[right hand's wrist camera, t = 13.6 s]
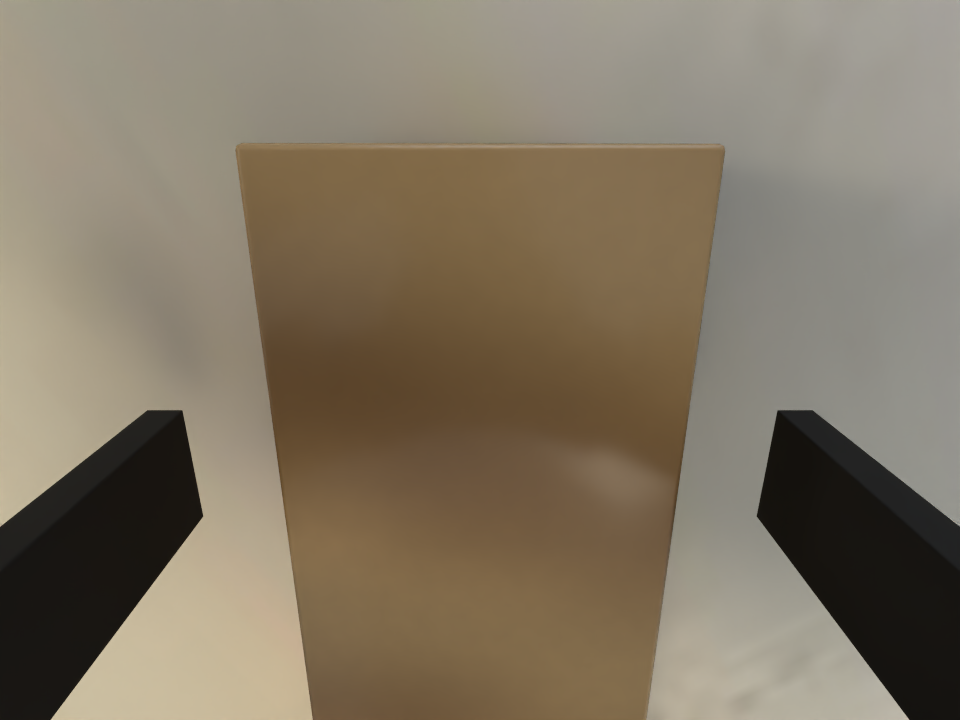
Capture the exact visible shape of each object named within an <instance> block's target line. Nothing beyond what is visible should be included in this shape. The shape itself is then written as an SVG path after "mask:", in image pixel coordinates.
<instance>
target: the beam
mask: <svg viewBox="0 0 960 720" xmlns="http://www.w3.org/2000/svg"><path fill="white" fill-rule="evenodd" d="M724 155H725V149H724V146H723V145H720V144H505V143H241V144H239V145H237V146H236V158H237V165H238V172H239V180H240V187H241V194H242V202H243V209H244V216H245V224H246V231H247V238H248V246H249V253H250V260H251V268H252V275H253V283H254V290H255V297H256V305H257V312H258V319H259V327H260V334H261V341H262V349H263V356H264V363H265V371H266V378H267V385H268V393H269V400H270V408H271V415H272V422H273V430H274V437H275V444H276V452H277V459H278V466H279V474H280V481H281V488H282V496H283V503H284V510H285V518H286V525H287V532H288V540H289V547H290V555H291V562H292V569H293V577H294V584H295V591H296V599H297V606H298V613H299V621H300V628H301V635H302V643H303V650H304V657H305V665H306V672H307V680H308V687H309V694H310V702H311V709H312V716H313V720H646V717H647V710H648V703H649V695H650V688H651V681H652V674H653V667H654V659H655V652H656V645H657V638H658V631H659V623H660V616H661V609H662V602H663V595H664V587H665V580H666V573H667V566H668V559H669V551H670V544H671V537H672V530H673V522H674V515H675V508H676V501H677V494H678V486H679V479H680V472H681V465H682V458H683V450H684V443H685V436H686V429H687V422H688V414H689V407H690V400H691V393H692V386H693V378H694V371H695V364H696V357H697V349H698V342H699V335H700V328H701V321H702V313H703V306H704V299H705V292H706V285H707V277H708V270H709V263H710V256H711V249H712V241H713V234H714V227H715V220H716V213H717V205H718V198H719V191H720V184H721V177H722V169H723V162H724Z"/></svg>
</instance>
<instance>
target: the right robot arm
mask: <svg viewBox="0 0 960 720" xmlns="http://www.w3.org/2000/svg"><path fill="white" fill-rule="evenodd" d="M202 517H203V513H202V508H201V503H200V497H199V492H198V487H197V482H196V477H195V472H194V467H193V462H192V457H191V452H190V447H189V442H188V436H187V431H186V426H185V421H184V416H183V411H182V410H147V411H146V412H145V413H144V414H142V415H141V416H140V417H139V418H137V419H136V420H135V421H134V422H132V423H131V424H130V425H128V426H127V427H126V428H125V429H123V430H122V431H121V432H120V433H118V434H117V435H116V436H115V437H113V438H112V439H111V440H109V441H108V442H107V443H106V444H104V445H103V446H102V447H101V448H99V449H98V450H97V451H96V452H94V453H93V454H92V455H91V456H89V457H88V458H87V459H85V460H84V461H83V462H82V463H80V464H79V465H78V466H77V467H75V468H74V469H73V470H72V471H70V472H69V473H68V474H66V475H65V476H64V477H63V478H61V479H60V480H59V481H58V482H56V483H55V484H54V485H53V486H51V487H50V488H49V489H48V490H46V491H45V492H44V493H42V494H41V495H40V496H39V497H37V498H36V499H35V500H34V501H32V502H31V503H30V504H29V505H27V506H26V507H25V508H23V509H22V510H21V511H20V512H18V513H17V514H16V515H15V516H13V517H12V518H11V519H10V520H8V521H7V522H6V523H5V524H3V525H2V526H1V527H0V720H51V718H52V717H53V716H54V714H55V713H56V712H57V710H58V709H59V708H60V706H61V705H62V704H63V702H64V701H65V700H66V698H67V697H68V696H69V694H70V693H71V692H72V690H73V689H74V688H75V686H76V685H77V684H78V682H79V681H80V680H81V678H82V677H83V676H84V674H85V673H86V672H87V670H88V669H89V668H90V666H91V665H92V664H93V662H94V661H95V660H96V658H97V657H98V656H99V655H100V653H101V652H102V651H103V649H104V648H105V647H106V645H107V644H108V643H109V641H110V640H111V639H112V637H113V636H114V635H115V633H116V632H117V631H118V629H119V628H120V627H121V625H122V624H123V623H124V621H125V620H126V619H127V617H128V616H129V615H130V613H131V612H132V611H133V609H134V608H135V607H136V605H137V604H138V603H139V601H140V600H141V599H142V597H143V596H144V595H145V593H146V592H147V591H148V589H149V588H150V587H151V585H152V584H153V583H154V581H155V580H156V579H157V577H158V576H159V575H160V573H161V572H162V571H163V569H164V568H165V567H166V565H167V564H168V563H169V561H170V560H171V559H172V557H173V556H174V555H175V553H176V552H177V551H178V549H179V548H180V547H181V545H182V544H183V543H184V541H185V540H186V539H187V537H188V536H189V535H190V533H191V532H192V531H193V529H194V528H195V527H196V525H197V524H198V523H199V521H200V520H201V519H202ZM757 517H758V519H759V520H760V521H761V523H762V524H763V525H764V527H765V528H766V529H767V531H768V532H769V533H770V535H771V536H772V537H773V539H774V540H775V541H776V543H777V544H778V545H779V547H780V548H781V549H782V551H783V552H784V553H785V555H786V556H787V557H788V559H789V560H790V561H791V563H792V564H793V565H794V567H795V568H796V569H797V571H798V572H799V573H800V575H801V576H802V577H803V579H804V580H805V581H806V583H807V584H808V585H809V587H810V588H811V589H812V591H813V592H814V593H815V595H816V596H817V597H818V599H819V600H820V601H821V603H822V604H823V605H824V607H825V608H826V609H827V611H828V612H829V613H830V615H831V616H832V617H833V619H834V620H835V621H836V623H837V624H838V625H839V627H840V628H841V629H842V631H843V632H844V633H845V635H846V636H847V637H848V639H849V640H850V641H851V643H852V644H853V645H854V647H855V648H856V649H857V651H858V652H859V653H860V654H861V656H862V657H863V658H864V660H865V661H866V662H867V664H868V665H869V666H870V668H871V669H872V670H873V672H874V673H875V674H876V676H877V677H878V678H879V680H880V681H881V682H882V684H883V685H884V686H885V688H886V689H887V690H888V692H889V693H890V694H891V696H892V697H893V698H894V700H895V701H896V702H897V704H898V705H899V706H900V708H901V709H902V710H903V712H904V713H905V714H906V716H907V717H908V718H909V720H960V527H959V526H958V525H957V524H955V523H954V522H953V521H952V520H950V519H949V518H948V517H947V516H945V515H944V514H943V513H942V512H940V511H939V510H938V509H937V508H935V507H934V506H933V505H931V504H930V503H929V502H928V501H926V500H925V499H924V498H923V497H921V496H920V495H919V494H918V493H916V492H915V491H914V490H912V489H911V488H910V487H909V486H907V485H906V484H905V483H904V482H902V481H901V480H900V479H899V478H897V477H896V476H895V475H894V474H892V473H891V472H890V471H888V470H887V469H886V468H885V467H883V466H882V465H881V464H880V463H878V462H877V461H876V460H875V459H873V458H872V457H871V456H869V455H868V454H867V453H866V452H864V451H863V450H862V449H861V448H859V447H858V446H857V445H856V444H854V443H853V442H852V441H851V440H849V439H848V438H847V437H845V436H844V435H843V434H842V433H840V432H839V431H838V430H837V429H835V428H834V427H833V426H832V425H830V424H829V423H828V422H826V421H825V420H824V419H823V418H821V417H820V416H819V415H818V414H816V413H815V412H814V411H813V410H778V411H777V416H776V421H775V426H774V431H773V437H772V442H771V447H770V452H769V457H768V462H767V467H766V472H765V477H764V482H763V487H762V492H761V497H760V503H759V508H758V513H757Z"/></svg>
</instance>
